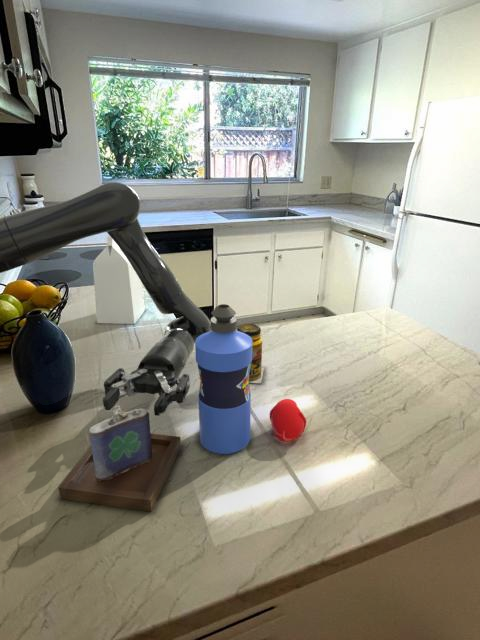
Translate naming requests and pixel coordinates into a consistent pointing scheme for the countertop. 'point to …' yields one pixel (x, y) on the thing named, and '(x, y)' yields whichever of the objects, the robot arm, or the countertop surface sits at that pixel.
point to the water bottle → (224, 384)
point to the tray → (123, 479)
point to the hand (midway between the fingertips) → (131, 408)
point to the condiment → (254, 351)
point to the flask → (120, 442)
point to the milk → (116, 287)
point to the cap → (287, 420)
